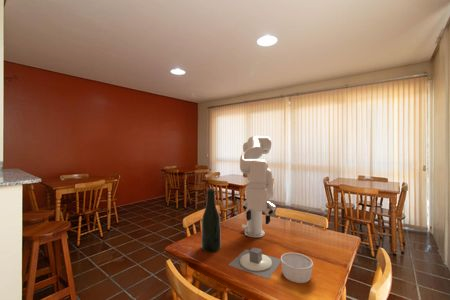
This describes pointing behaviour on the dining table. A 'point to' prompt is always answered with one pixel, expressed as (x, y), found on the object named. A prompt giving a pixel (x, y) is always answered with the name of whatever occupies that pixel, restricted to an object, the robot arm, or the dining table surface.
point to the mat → (264, 274)
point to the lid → (255, 260)
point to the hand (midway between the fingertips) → (258, 221)
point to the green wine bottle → (211, 224)
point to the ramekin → (296, 267)
